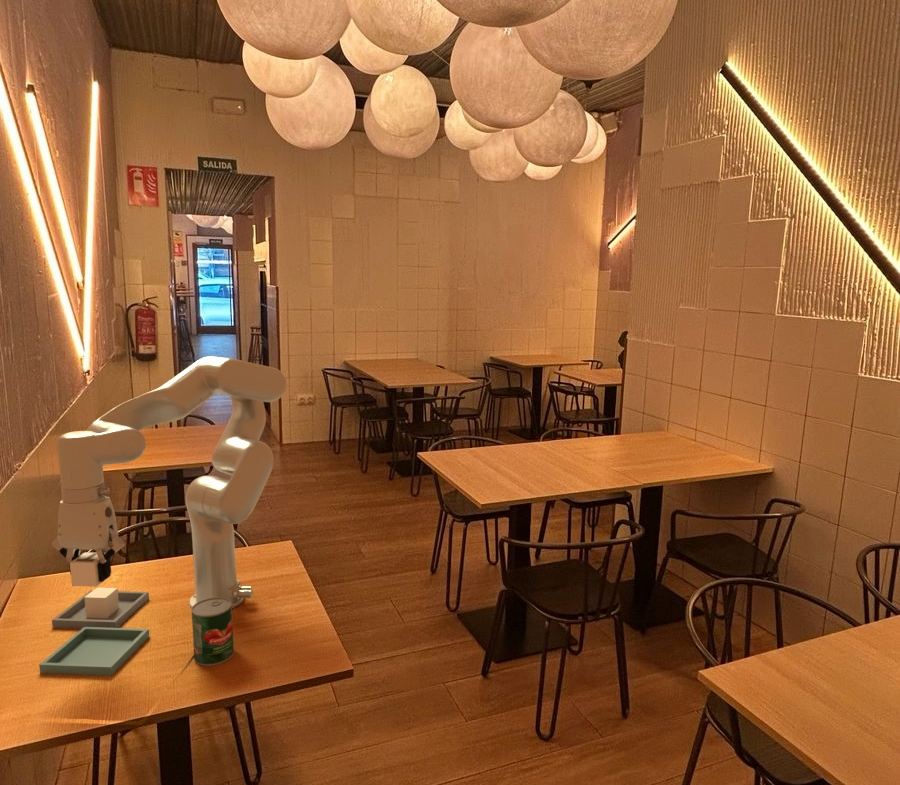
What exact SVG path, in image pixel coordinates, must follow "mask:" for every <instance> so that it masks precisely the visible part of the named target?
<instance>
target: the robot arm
mask: <svg viewBox="0 0 900 785" xmlns="http://www.w3.org/2000/svg"><path fill="white" fill-rule="evenodd" d="M287 386H288V385H287V379H286V377H285V375H284V373H283V372H282V371H281V370H280V369H278V368H277V367H273V366H272V367H271V366H268V365H264V364H259V363H254V362H250V361H244V360H242V359H241V360H240V359H236V358H232V357H224V356H223V357H222V356H204V357H201V358H200V359H198V360H196V361H195V362H193V363H192V364H190V365H189V366H188V367H186V368H185V369H183V370H182V371H181V372H179V373H177V374H176V375H175V376H174V377H172V378H170V379H169V380H168V381H166V382H165V383H163V384H162V385H160V386H159V387H157V388H155V389H153V390H151V391H148V392H145V393H143V394H140V395H138V396H136V397H134V398H131V399H128V400H126V401H124V402H123V403H122V402H121V404H119V405H116V406H115V407H113V408H112V409H110V410H109V411H107V412H106V413H104V414H103V415H102V416H101V415H100V416H99V417H98V418H97V419H95V421H93V422H92V423H91V424H90V425H89V426H88V428H87V429H86V430H79V431H78V430H77V431H76V430H75V431H70V432H66V433H63V434H61V435H60V436H58V438H57V440H56V446H57V447H56V449H57V456H58V457H57V458H58V468H59V469H58V470H59V478H60V479H59V480H60V491H61V500H60V502H59V506H58V512H57V535H56V537H55V539H54V540H53V541H52V542H51V546H52V548H54V550H55V549H56V551H58V552H59V553H60V554H61V555H62V557H64V558H65V561H66V563H68V564H69V566H70V562H71V561H73V560H74V559H76V558H77V557H79V556H80V555H81V551H82V550H89V551H90V550H95V553H97V556H98V558H99V561H100V563H98V576H99V582H102V583H103V582H105V581H106V580H107V579H109V578H110V577H111V574H112V566H111V564H112V562H111V559H112V558H113V557H114V555H115V554H116V553H117V552H118V551H120V550H121V549H122V548H123V547H125V545H126V543H125V542H124V541H123V539H122V538H121V537H120V536H119V534H118V533H119V532H118V524H117V519H116V514H115V509H114V506H113V504H112V503H113V502H112V500H111V498H110V496H109V495H110V493H111V488H110V487H106V484H105V478H104V475H105V474H104V466H105V465H117V464H118V465H119V464H126V463H131V462H133V461H136V460H137V459H139V458H141V456H142V455H143V453H144V452H145V451H146V446H147V440H146V439H145V436H144V434H143V433H142V432H140V431H141V430H143V429H146V428H149V427H151V426H157V425H160V424H167V423H173V422H175V421H178V420H179V421H180V420H182V419H185V418H186V417H187V416H188V415H189V414H191V413H192V412H193V411H195V410H196V409H197V408H199V407H200V406H201V405H203V404H204V403H205V402H206V401H208V400H209V399H210V398H212V397H213V396H215V395H217V394H219V395H224V396H225V395H226V396H230V399H231V403H232V411H231V415H230V418H229V419H228V422H227V425H226V426H225V428H224V429H223V432H222V434H221V436H220V437H219V440H218V442H217V444H216V446H215V448H214V451H213V453H212V455H211V464H212V466H213V467H214V469H215V470H217V471H218V472H221V473H223V474H226V475H229V476H230V479H227V478H223V477H220V476H216V475H201V476H198V477H197V478H195V479H194V480H192V482H190V484H189V485H188V487H187V489H186V493H185V505H186V509H187V513H188V518H189V522H190V527H191V539H192V540H191V541H192V558H193V572H194V573H193V574H194V576H193V577H194V588H195V594H193V595H192V596H191V597H190V598H189V601H188V602H189V603H188V605H189V608H191V609H192V607H193V606H194V605H195V604H196V603H198V602H200V601H202V600H205V599H209V598H216V597H220V598H226V599H228V600H230V601H231V603H232V606H231V607H232V609H234V608H236V607H237V606H239V605H240V604H241V603H243V601H244V599H252V598H253V597H254V596H253V595H254V591H253V589H252V586H248V585H247V586H243V585H242V584H241V579H237V568H236V548H235V546H236V545H235V529H234V525H237V524H239V523H242V522H244V521H245V520H246V519H247V518H248V517H249V516H250V515H251V513H252V512H253V511H254V509H255V507H256V505H257V503H258V501H259V498H260V497H261V495H262V493H263V490H264V489H265V487H266V485H267V482H268V480H269V477H270V475H271V473H272V470H273V466H274V453H273V451H272V450H273V449H271V447H270V446H269V445H268V444H267V443H266V442H264V441H262V440H260V439H261V436H262V434H263V432H264V430H265V427H266V423H267V414H266V408H265V404H264V402H265V403H272V402H273V403H274V402H276V401H279V399H281V398H282V397H283V395H284V394H285V392H286V390H287ZM106 495H108V496H106ZM110 543H111V544H112V545H113V546H112V547H111V546H110ZM104 553H105V554H104ZM69 573H70V575H71V570H70V569H69Z"/></svg>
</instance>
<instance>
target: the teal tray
mask: <svg viewBox="0 0 900 785" xmlns="http://www.w3.org/2000/svg"><path fill="white" fill-rule="evenodd" d="M149 638H150V629H149V628H134V627H133V628H131V627H127V628H126V627H125V628H124V627H118V628H105V627H83V628H82V629H79V630H78V631H77V632H76V633H75V634H74V635H73V636H71V637H70V638H69V639H68V640H67V641H66V642H65V643H63V644H62V645H61V646H60V647H58V648H57V649H55V650H54V652H52V653H51V654H50V655H49V656H48V657H47V658H45V659H44V660H42V662H41V663H39V673H40V674H48V675H49V674H50V675H52V674H54V675H73V676H74V675H76V676H77V675H79V676H101V677H102V676H103V677H104V676H105V677H112V676H113V675H114V674H115V673H116V672H117V671H118V670H119V669H120V668H121V667H122V666H123V665H124V664H125V663H126V662H127V661H128V659H129V658H131V656H133V655H134V654H135V653H136V652H137V650H139V648H140V647H141V646H142V645H144V643H145V642H146V641H147V640H148V639H149Z"/></svg>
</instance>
